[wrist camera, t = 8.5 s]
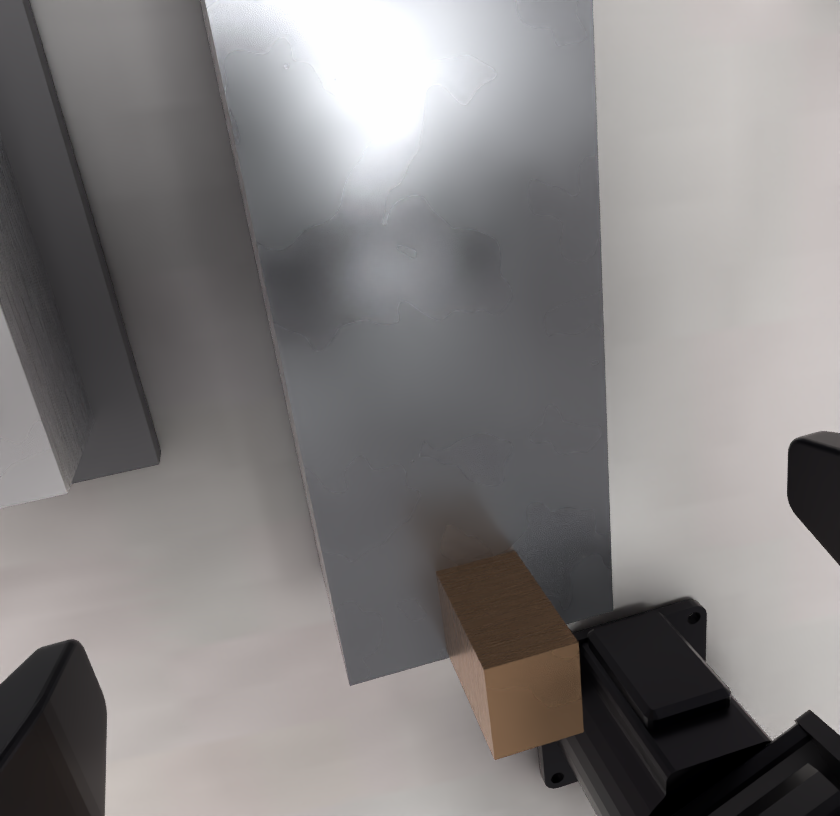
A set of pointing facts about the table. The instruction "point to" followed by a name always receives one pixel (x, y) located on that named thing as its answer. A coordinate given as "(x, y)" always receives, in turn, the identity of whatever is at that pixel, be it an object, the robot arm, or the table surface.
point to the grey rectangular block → (33, 367)
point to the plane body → (436, 326)
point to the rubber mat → (71, 252)
